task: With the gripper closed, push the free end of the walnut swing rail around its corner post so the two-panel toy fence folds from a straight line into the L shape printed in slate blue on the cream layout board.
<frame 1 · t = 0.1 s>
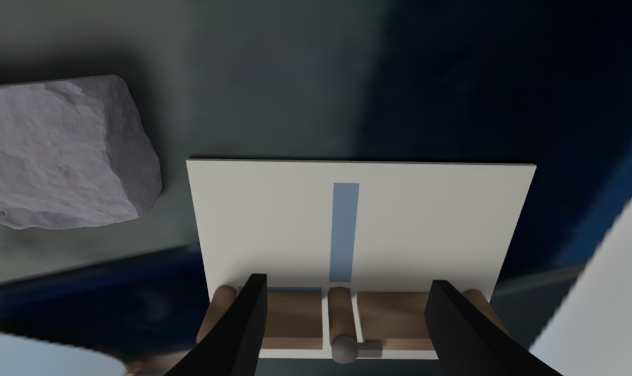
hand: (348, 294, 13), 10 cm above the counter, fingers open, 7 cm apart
stone block: (75, 151, 22), on the counter
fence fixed: (339, 295, 26), resting on layout board
swing rail: (415, 323, 24), point 3 cm above the counter, hinge at -90.0°
layout board: (351, 274, 26), on the counter
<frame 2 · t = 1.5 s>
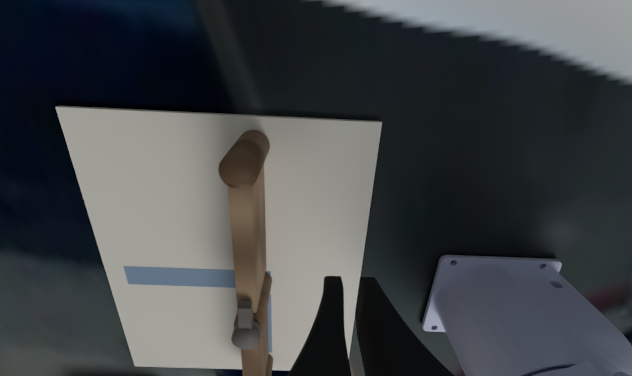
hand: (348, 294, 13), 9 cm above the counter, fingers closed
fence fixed: (259, 279, 25), resting on layout board
swing rail: (249, 241, 20), point 3 cm above the counter, hinge at -90.0°
layout board: (234, 265, 24), on the counter
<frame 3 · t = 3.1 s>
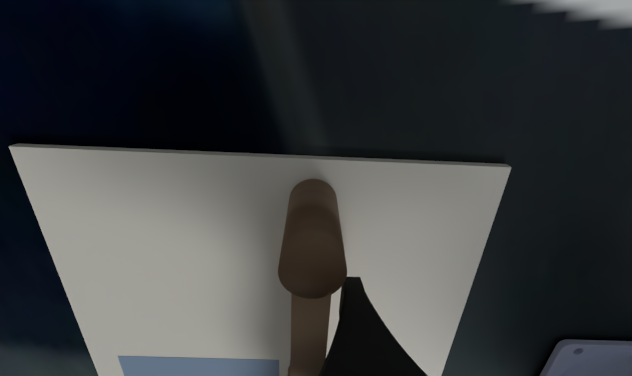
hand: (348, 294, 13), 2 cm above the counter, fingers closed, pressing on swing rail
swing rail: (307, 347, 13), point 3 cm above the counter, hinge at -90.0°, touching gripper
layout board: (271, 352, 18), on the counter
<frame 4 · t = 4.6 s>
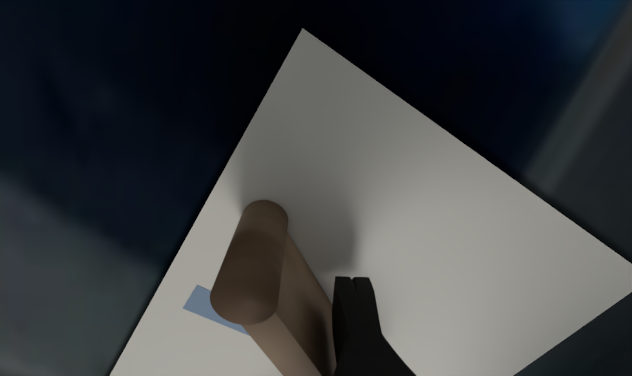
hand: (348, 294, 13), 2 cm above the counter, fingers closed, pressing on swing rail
swing rail: (321, 355, 13), point 3 cm above the counter, hinge at -31.8°, touching gripper
layout board: (342, 340, 17), on the counter
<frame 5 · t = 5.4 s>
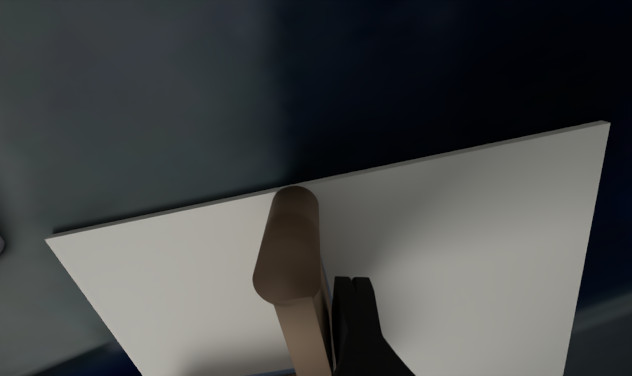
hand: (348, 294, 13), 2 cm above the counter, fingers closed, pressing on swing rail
swing rail: (319, 351, 13), point 3 cm above the counter, hinge at -2.0°, touching gripper
layout board: (346, 340, 17), on the counter
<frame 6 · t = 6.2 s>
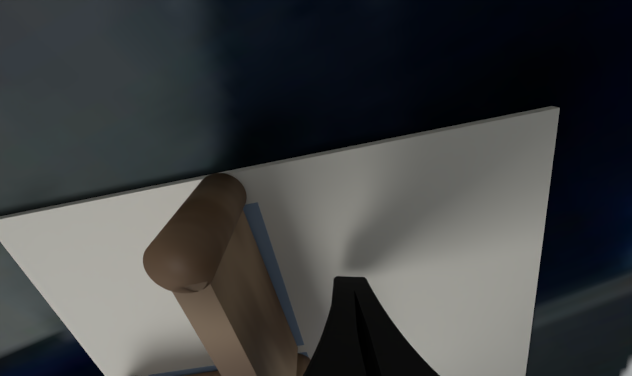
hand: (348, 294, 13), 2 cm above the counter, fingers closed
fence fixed: (294, 364, 18), resting on layout board
swing rail: (254, 341, 13), point 3 cm above the counter, hinge at 2.0°
layout board: (304, 331, 17), on the counter
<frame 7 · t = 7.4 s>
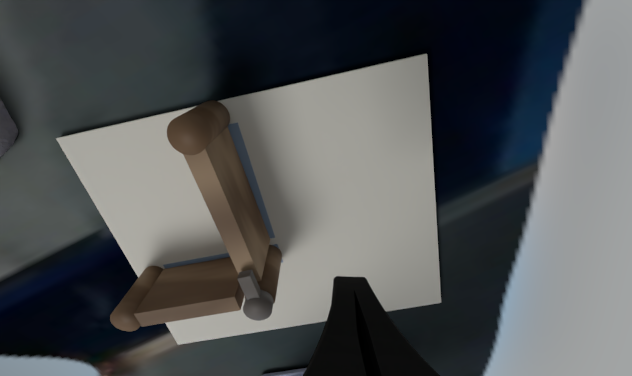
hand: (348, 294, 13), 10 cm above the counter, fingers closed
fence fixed: (269, 255, 24), resting on layout board
swing rail: (235, 212, 19), point 3 cm above the counter, hinge at 2.0°
layout board: (275, 228, 24), on the counter
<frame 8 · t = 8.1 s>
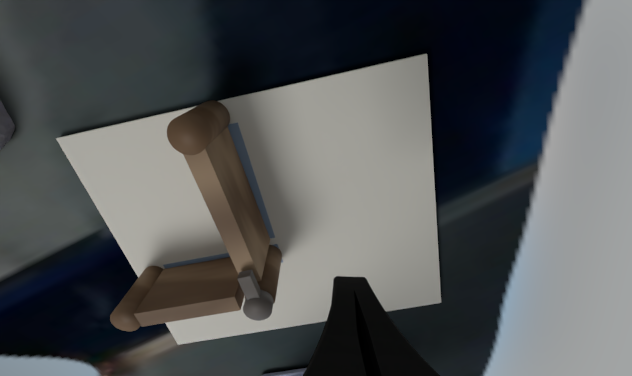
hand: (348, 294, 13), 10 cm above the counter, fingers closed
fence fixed: (269, 255, 24), resting on layout board
swing rail: (235, 212, 19), point 3 cm above the counter, hinge at 2.0°
layout board: (275, 228, 24), on the counter
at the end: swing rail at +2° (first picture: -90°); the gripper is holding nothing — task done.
